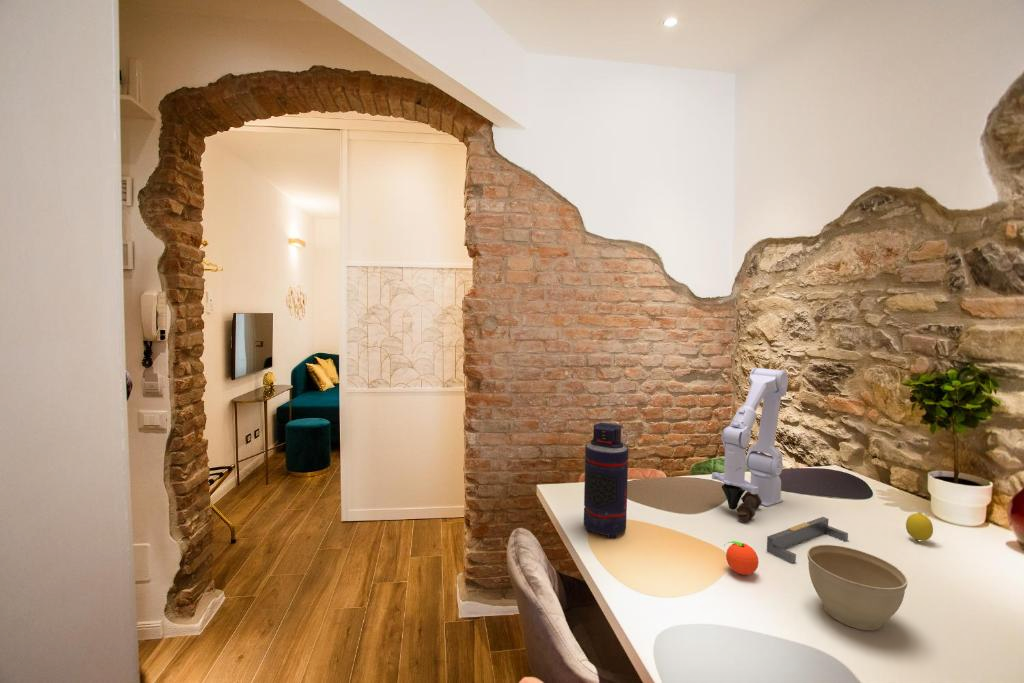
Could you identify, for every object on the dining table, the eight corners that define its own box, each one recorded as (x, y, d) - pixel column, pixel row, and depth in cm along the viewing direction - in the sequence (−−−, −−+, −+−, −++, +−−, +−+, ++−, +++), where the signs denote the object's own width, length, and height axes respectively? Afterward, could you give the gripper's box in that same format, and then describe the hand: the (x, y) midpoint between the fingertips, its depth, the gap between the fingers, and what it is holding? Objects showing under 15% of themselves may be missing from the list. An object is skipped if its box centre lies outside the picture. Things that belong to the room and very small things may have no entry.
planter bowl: (878, 655, 81) (882, 597, 81) (788, 604, 96) (791, 554, 95) (920, 628, 89) (923, 574, 88) (831, 584, 103) (833, 538, 103)
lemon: (927, 539, 125) (929, 511, 125) (935, 548, 120) (937, 519, 120) (901, 534, 128) (903, 507, 127) (909, 543, 123) (911, 514, 122)
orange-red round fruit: (715, 568, 109) (716, 540, 109) (729, 559, 113) (731, 532, 113) (749, 584, 103) (750, 554, 102) (763, 574, 107) (764, 545, 107)
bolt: (739, 528, 134) (748, 510, 146) (756, 524, 131) (764, 506, 143) (729, 509, 136) (739, 492, 147) (745, 505, 133) (754, 488, 145)
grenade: (618, 543, 121) (621, 432, 119) (576, 532, 127) (579, 426, 125) (633, 523, 132) (636, 422, 131) (595, 514, 139) (597, 417, 137)
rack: (822, 530, 130) (822, 515, 130) (847, 540, 124) (848, 525, 124) (766, 551, 117) (767, 535, 117) (792, 563, 112) (792, 547, 112)
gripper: (705, 460, 144) (704, 502, 145) (748, 475, 131) (746, 520, 132) (720, 457, 147) (719, 498, 148) (763, 471, 135) (761, 515, 135)
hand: (732, 508), depth 140 cm, fingers closed
